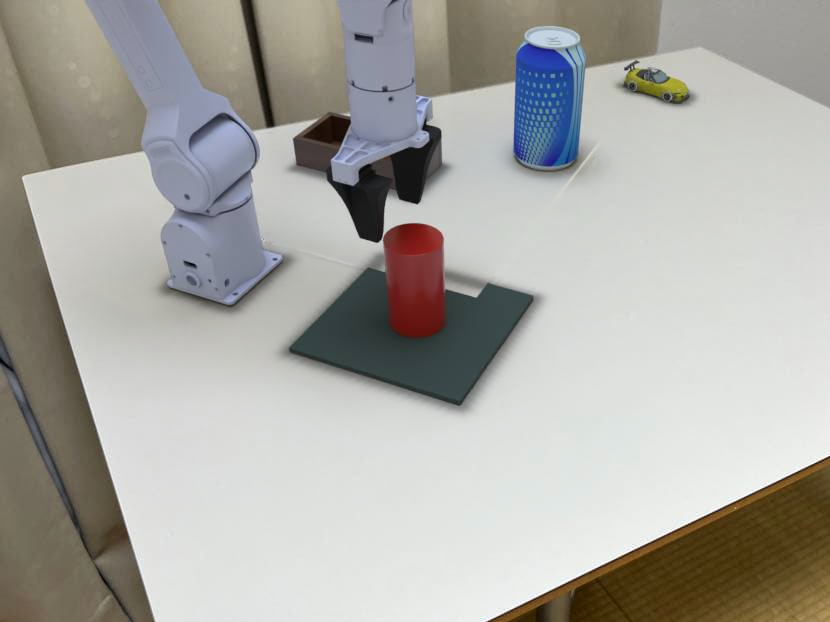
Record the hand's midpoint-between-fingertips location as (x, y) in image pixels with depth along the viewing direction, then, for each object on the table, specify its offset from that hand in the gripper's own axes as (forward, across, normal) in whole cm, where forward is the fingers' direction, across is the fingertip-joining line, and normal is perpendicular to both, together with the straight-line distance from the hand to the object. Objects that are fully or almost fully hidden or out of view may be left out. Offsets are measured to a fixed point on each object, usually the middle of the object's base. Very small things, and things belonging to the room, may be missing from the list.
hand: (390, 219), depth 84 cm
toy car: (+10, +64, -9) cm, 66 cm away
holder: (+10, +24, +17) cm, 31 cm away
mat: (+10, -2, -3) cm, 11 cm away
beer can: (+10, +36, -2) cm, 38 cm away
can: (+10, -2, -3) cm, 10 cm away
